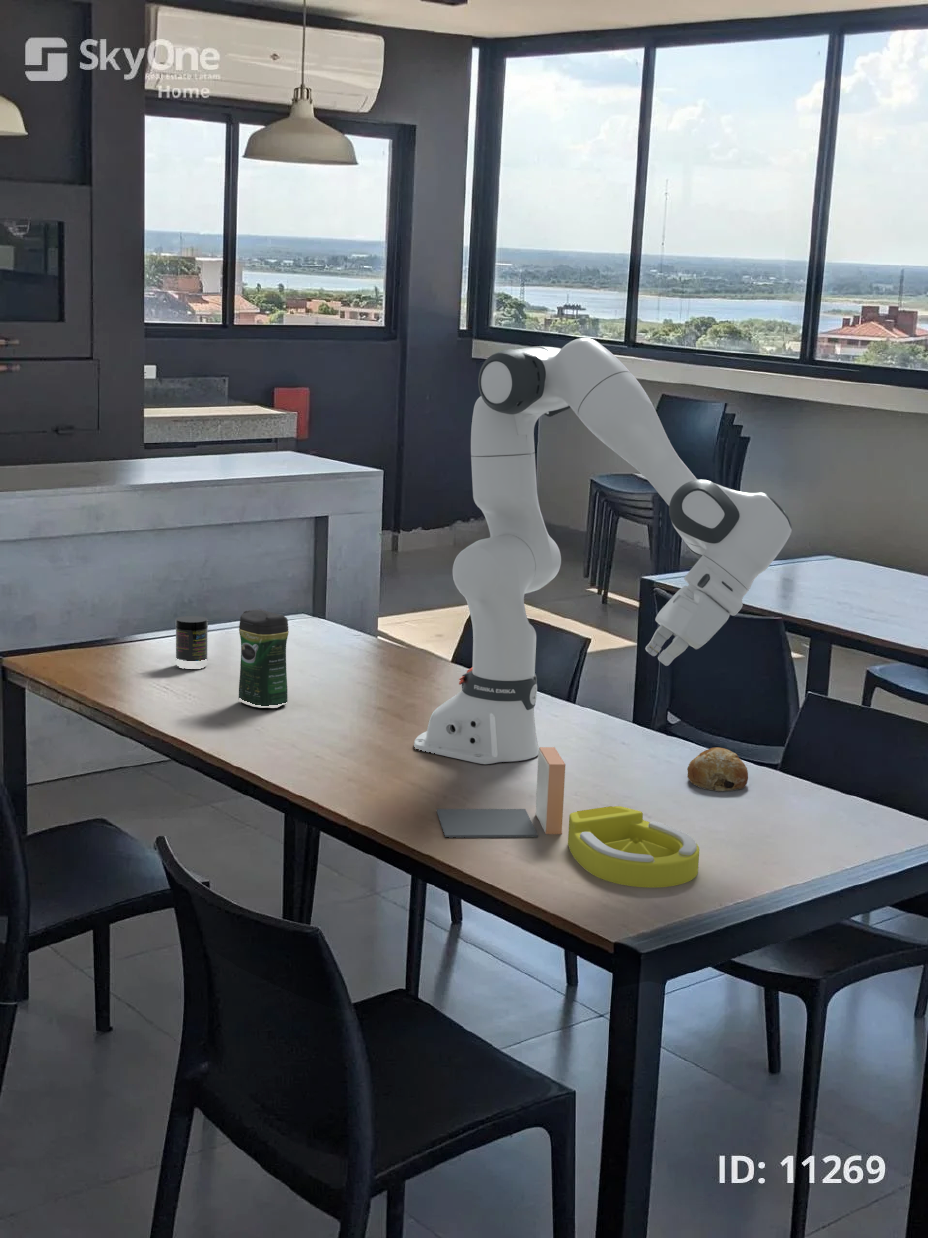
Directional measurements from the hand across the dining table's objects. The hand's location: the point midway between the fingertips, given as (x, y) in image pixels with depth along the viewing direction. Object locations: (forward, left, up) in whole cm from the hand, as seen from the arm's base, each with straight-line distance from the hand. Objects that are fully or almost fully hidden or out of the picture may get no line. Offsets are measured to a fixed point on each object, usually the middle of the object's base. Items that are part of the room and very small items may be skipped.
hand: (655, 658), depth 234 cm
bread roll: (+6, +24, -26) cm, 36 cm away
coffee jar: (-85, +32, -26) cm, 94 cm away
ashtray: (+3, -20, -26) cm, 33 cm away
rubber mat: (-21, -14, -26) cm, 36 cm away
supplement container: (-113, +52, -26) cm, 127 cm away
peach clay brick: (-13, -10, -26) cm, 30 cm away
